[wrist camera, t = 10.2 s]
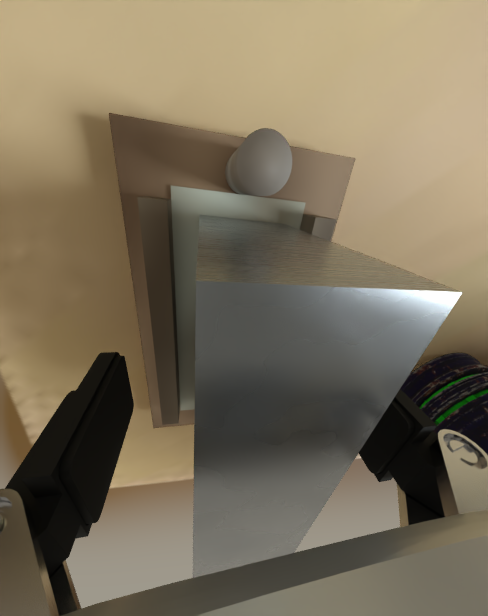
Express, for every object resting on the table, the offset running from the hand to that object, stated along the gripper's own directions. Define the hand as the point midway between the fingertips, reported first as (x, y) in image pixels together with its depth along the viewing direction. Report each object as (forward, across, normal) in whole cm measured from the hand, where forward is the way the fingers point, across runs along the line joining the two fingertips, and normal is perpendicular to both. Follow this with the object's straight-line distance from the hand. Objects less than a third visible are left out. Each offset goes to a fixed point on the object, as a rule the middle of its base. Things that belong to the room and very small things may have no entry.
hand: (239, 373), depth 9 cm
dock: (+5, 0, 0) cm, 5 cm away
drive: (+4, 0, 0) cm, 4 cm away
